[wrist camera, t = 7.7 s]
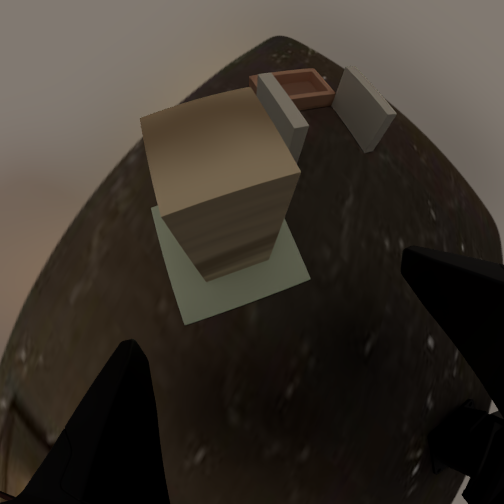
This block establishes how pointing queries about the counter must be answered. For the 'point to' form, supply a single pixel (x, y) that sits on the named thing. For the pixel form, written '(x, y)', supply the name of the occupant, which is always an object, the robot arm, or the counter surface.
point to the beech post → (220, 179)
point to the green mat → (228, 276)
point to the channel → (345, 104)
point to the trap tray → (302, 88)
